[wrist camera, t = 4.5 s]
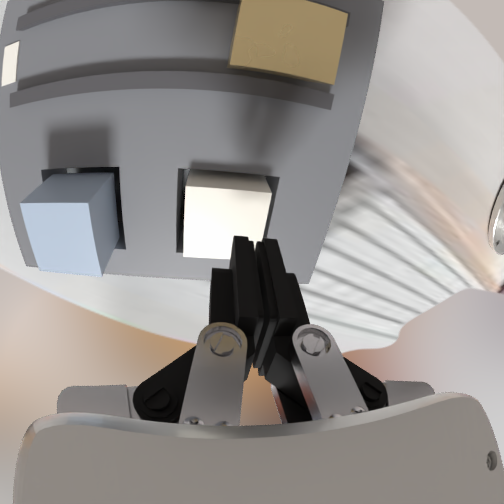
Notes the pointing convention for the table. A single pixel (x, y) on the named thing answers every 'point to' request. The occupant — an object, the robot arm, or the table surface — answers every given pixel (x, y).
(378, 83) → the table surface
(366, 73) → the panel
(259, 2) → the slider knob
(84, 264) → the blue button
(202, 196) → the cream button
